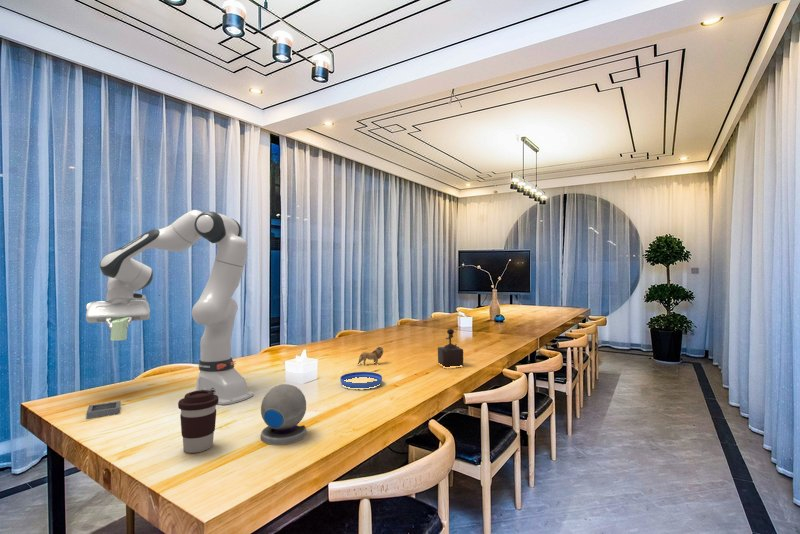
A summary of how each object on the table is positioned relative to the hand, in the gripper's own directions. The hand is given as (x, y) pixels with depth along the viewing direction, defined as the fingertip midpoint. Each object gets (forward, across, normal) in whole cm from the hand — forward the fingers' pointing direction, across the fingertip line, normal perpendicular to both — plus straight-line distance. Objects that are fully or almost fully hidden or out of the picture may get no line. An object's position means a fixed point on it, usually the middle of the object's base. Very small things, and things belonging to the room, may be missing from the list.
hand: (118, 328), depth 149 cm
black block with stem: (+36, +142, +3) cm, 147 cm away
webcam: (+66, +42, -27) cm, 82 cm away
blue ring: (+41, +87, -2) cm, 96 cm away
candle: (+3, 0, +4) cm, 4 cm away
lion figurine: (+20, +109, +20) cm, 112 cm away
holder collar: (+28, -4, +11) cm, 30 cm away
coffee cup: (+62, +20, -23) cm, 69 cm away
